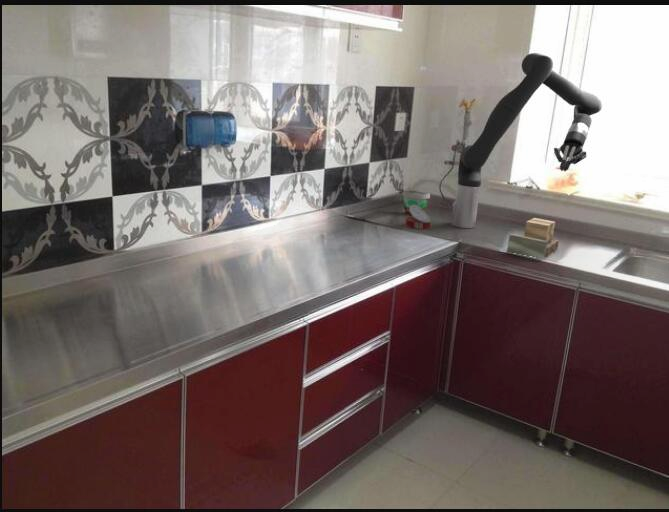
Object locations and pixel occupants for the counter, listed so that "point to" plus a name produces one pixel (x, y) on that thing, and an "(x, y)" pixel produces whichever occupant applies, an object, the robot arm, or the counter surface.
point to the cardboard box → (540, 229)
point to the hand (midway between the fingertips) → (563, 169)
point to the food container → (414, 200)
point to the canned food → (418, 218)
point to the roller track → (531, 246)
